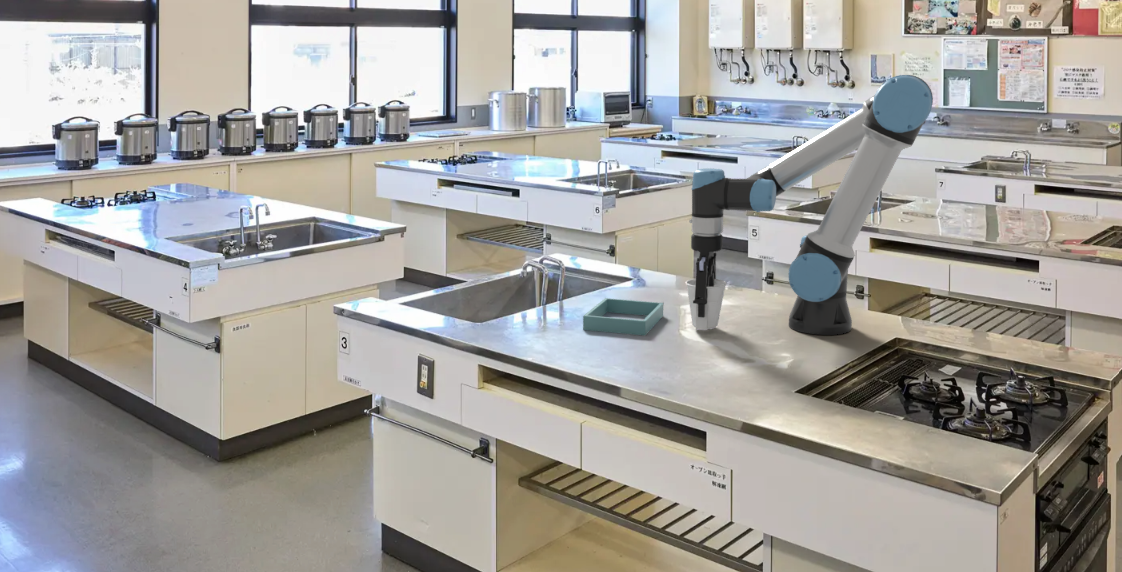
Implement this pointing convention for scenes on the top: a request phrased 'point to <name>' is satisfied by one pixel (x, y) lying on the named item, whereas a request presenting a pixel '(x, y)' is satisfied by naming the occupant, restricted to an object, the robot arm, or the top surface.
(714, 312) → the cup
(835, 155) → the robot arm
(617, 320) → the walled box
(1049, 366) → the top surface
